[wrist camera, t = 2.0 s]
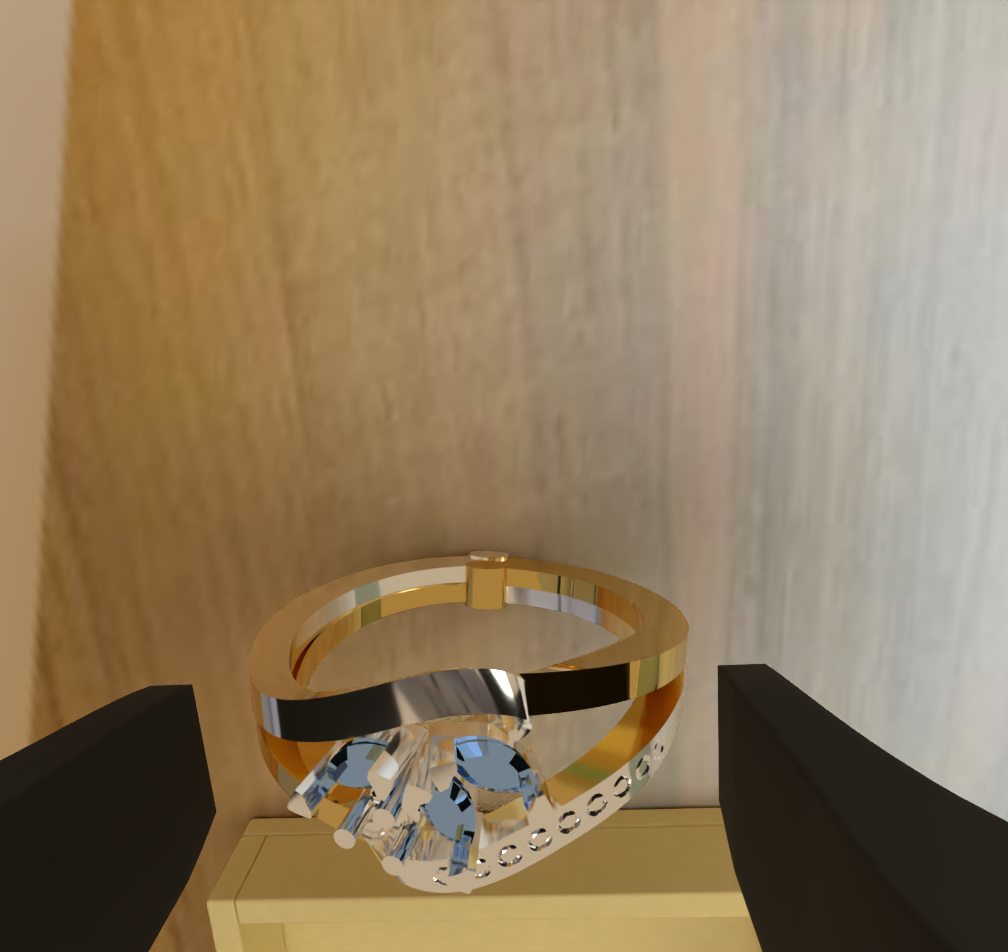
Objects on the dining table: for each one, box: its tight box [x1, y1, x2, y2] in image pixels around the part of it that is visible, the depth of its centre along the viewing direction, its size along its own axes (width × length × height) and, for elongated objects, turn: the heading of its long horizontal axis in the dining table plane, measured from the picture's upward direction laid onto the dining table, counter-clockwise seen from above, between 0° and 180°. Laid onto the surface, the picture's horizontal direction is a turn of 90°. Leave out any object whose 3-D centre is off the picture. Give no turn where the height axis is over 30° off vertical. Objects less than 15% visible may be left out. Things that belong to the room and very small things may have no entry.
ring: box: [249, 551, 689, 894], centre depth 13 cm, size 7×3×8 cm, turn 89°
